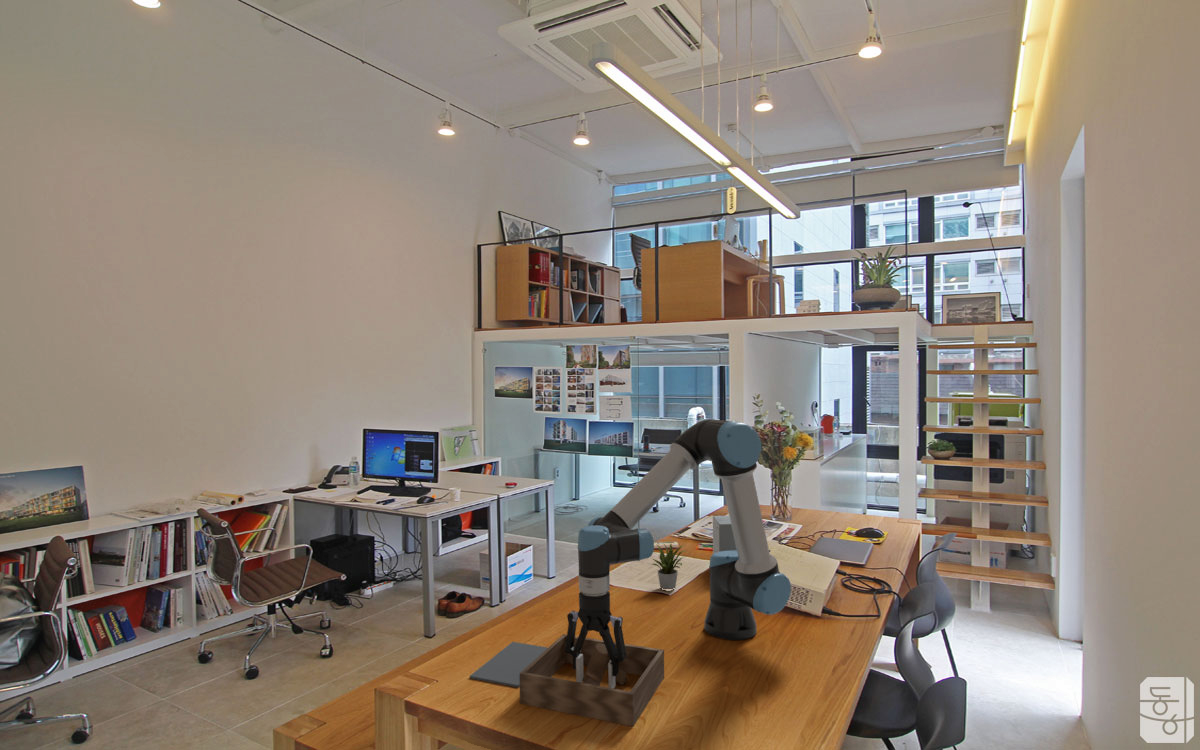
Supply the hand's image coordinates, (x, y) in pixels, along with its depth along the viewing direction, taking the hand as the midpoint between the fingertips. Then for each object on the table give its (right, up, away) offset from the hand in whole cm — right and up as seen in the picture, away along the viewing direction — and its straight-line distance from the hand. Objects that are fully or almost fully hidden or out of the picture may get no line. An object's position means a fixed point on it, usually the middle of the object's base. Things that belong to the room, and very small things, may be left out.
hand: (595, 685), depth 158 cm
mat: (-21, -1, +15) cm, 26 cm away
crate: (0, -1, 0) cm, 1 cm away
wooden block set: (0, -1, -1) cm, 2 cm away
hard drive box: (+49, 0, +91) cm, 103 cm away
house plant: (+26, 0, +72) cm, 77 cm away
